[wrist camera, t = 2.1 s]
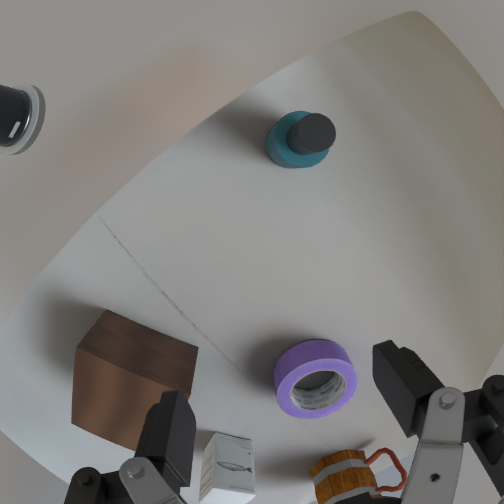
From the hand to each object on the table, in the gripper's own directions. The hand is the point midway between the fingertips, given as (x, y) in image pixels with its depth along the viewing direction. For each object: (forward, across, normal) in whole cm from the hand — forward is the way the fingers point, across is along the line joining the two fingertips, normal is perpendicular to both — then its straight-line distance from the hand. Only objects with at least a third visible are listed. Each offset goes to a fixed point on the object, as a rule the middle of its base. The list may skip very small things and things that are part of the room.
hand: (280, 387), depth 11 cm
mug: (+26, -10, +52) cm, 59 cm away
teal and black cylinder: (+26, -7, -10) cm, 29 cm away
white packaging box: (+26, +12, +36) cm, 46 cm away
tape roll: (+26, -5, +22) cm, 34 cm away
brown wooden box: (+26, +21, +15) cm, 36 cm away
